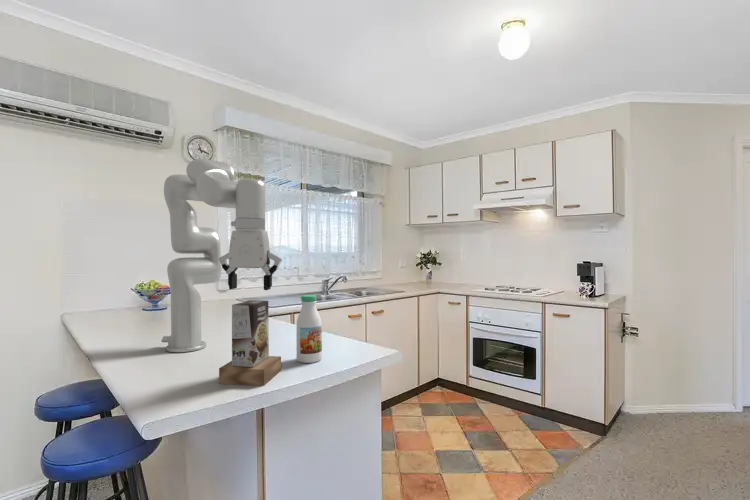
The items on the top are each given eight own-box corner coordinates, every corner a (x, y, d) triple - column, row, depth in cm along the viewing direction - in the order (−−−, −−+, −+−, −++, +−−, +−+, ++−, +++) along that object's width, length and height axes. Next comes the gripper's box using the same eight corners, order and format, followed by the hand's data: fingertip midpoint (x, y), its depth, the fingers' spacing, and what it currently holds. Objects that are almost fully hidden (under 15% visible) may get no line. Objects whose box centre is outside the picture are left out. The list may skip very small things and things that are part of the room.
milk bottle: (291, 362, 118) (291, 296, 118) (304, 355, 125) (304, 293, 125) (314, 364, 115) (313, 297, 115) (326, 357, 122) (325, 294, 122)
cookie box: (254, 367, 99) (253, 304, 99) (231, 366, 101) (230, 304, 100) (269, 357, 108) (269, 300, 108) (248, 356, 110) (248, 299, 109)
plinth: (219, 383, 99) (219, 368, 99) (240, 369, 111) (240, 355, 111) (264, 385, 98) (264, 369, 98) (281, 370, 110) (281, 356, 110)
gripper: (212, 225, 102) (212, 290, 102) (276, 225, 100) (275, 291, 100) (226, 226, 109) (226, 286, 109) (286, 226, 107) (285, 288, 107)
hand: (250, 289), depth 105 cm, fingers open, 9 cm apart
